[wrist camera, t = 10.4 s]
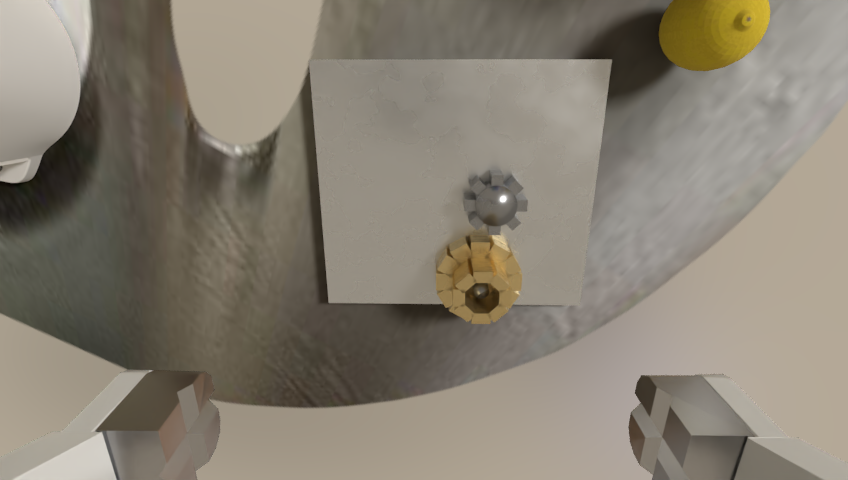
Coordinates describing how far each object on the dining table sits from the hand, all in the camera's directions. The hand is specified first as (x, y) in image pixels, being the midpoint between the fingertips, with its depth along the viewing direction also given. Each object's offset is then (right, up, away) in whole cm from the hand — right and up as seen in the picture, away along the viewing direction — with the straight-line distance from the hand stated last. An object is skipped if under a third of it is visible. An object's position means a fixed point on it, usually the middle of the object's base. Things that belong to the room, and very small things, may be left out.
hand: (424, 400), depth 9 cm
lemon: (+19, +18, +25) cm, 36 cm away
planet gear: (+4, 0, +31) cm, 31 cm away
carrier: (+3, +7, +29) cm, 30 cm away
